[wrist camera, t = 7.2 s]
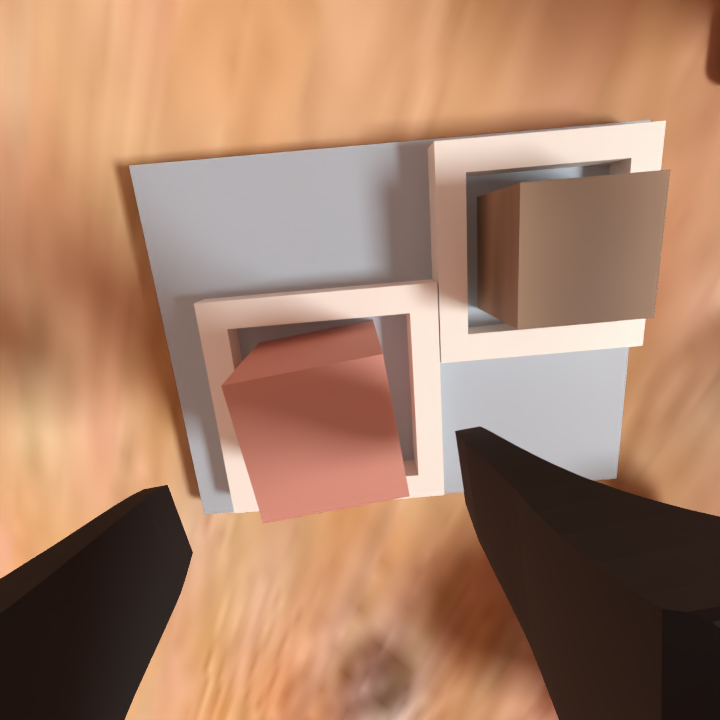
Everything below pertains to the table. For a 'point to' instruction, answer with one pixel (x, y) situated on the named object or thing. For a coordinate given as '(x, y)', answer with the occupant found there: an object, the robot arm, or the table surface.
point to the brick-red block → (317, 423)
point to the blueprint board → (384, 292)
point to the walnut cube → (571, 249)
